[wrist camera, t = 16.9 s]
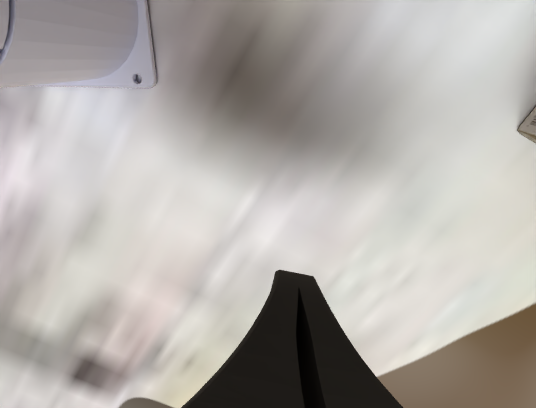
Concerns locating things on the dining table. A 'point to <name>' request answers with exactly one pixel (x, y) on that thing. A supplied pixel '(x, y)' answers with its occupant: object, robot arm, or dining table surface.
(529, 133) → the coffee box
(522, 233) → the dining table surface
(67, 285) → the dining table surface
